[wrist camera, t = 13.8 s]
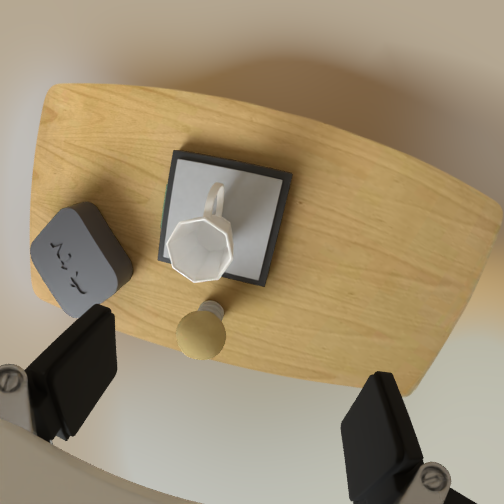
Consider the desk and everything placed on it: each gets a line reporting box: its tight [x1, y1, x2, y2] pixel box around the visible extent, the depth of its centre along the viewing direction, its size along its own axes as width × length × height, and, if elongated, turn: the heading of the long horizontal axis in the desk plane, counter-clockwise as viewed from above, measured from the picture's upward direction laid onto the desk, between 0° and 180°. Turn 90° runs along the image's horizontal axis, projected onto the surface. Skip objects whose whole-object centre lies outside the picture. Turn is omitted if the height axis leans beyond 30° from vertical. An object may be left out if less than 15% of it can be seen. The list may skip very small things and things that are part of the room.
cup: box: [166, 182, 234, 283], centre depth 33 cm, size 7×10×8 cm
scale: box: [158, 150, 293, 287], centre depth 38 cm, size 15×15×3 cm
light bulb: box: [176, 300, 226, 360], centre depth 39 cm, size 6×6×10 cm
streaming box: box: [30, 202, 132, 318], centre depth 41 cm, size 14×14×5 cm
